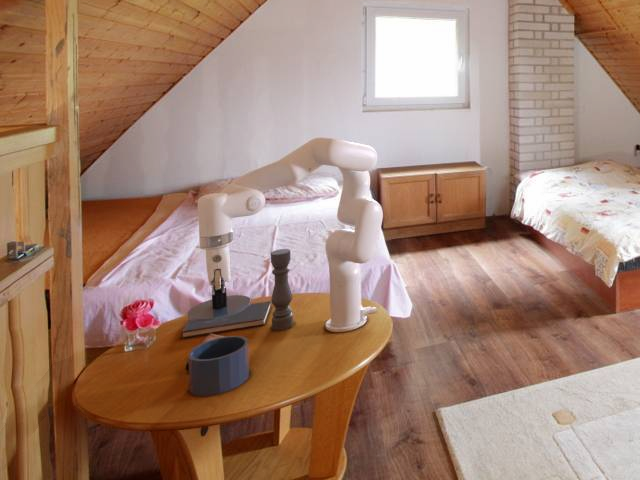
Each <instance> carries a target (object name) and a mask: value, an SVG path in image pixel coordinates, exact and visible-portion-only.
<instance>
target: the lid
mask: <svg viewBox="0 0 640 480" xmlns="http://www.w3.org/2000/svg"><path fill="white" fill-rule="evenodd" d="M250 304H252V298H251V297H249V296H247V295H240V294H234V295H233V294H232V295H227V306H226V307H224V308H219V309H215V310H213V307H212V298H211V299H208V300H205V301H203V302H200V303H197V304H196V305H194V306H193V307H191V308H190V309H189V310H188V311H187V313H186V317H187V319H188V320H189V319H190V320H194V321H209V320H216V319H221V318H225V317H228V316H231V315H234V314H236V313H239V312H241V311H243V310H244V309H246V308H247V307H248V306H249V305H250Z"/></svg>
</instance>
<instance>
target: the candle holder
mask: <svg viewBox="0 0 640 480" xmlns="http://www.w3.org/2000/svg"><path fill="white" fill-rule="evenodd" d="M290 262H291V249H289V248H279V249H275V250H273V251H271V252H270V264H271V266H272V267H273V269H272V271H271V274H272V275H273V276H274V285H273V289H272V295H271V299H270V301H271V305H273V306H274V310H273V312H272V317H271V329H272V330H273V331H276V332H277V331H285V330H288V329H290V328H292V327H293V326H294V314H293V313H292V312H293V309H292V307H291V306H290V304H291V302H292V300H293V294H292V290H291V287H290V284H289V272H290V271H291V268H290V267H289V264H290Z"/></svg>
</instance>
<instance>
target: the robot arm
mask: <svg viewBox="0 0 640 480" xmlns="http://www.w3.org/2000/svg"><path fill="white" fill-rule="evenodd" d="M378 159H379V158H378V153H377V151H376V149H374V147H372V146H370V145H366V144H362V143H356V142H351V141H347V140H344V139H338V138H332V137H315V138H312V139H311V140H308V141H307V142H305V143H304V144H303V145H301V146H299V147H297V148H296V149H295V150H293V151H292V152H290V153H288V154H287V155H284V157H282V158H280V159H278V160H276V161H274V162H271V163H269V164H267V165H264V166H262V167H259V168H257V169H254V170H252V171H249V172H247V173H245V174H243V175H241V176H240V177H239V178H237V179H235V180H234V181H232V182H231V183H228V184H227V185H226V186H224V187H223V189H221V191H220V192H215V193H209V194H205V195H203V196H200V197H199V199H198V200H197V217H198V219H197V220H198V238H199V249H200V250H204V251H205V262H206V263H205V264H206V265H205V266H206V274H207V279H208V285H209V286H211V288H212V289H211V290H212V293H211V299H212V307H213V310H215V309H219V308H224V307H226V306H227V296H228V295H227V287H226V283H230V282H231V280H232V279H231V277H232V276H231V275H232V273H231V254H230V252H231V251H230V245H232V244H233V243H234V235H233V218H241V217H249V216H254V215H256V214H258V213H259V212H261V211H262V210H263V209H264V207H265V205H266V197H265V194H263V193H265V192H266V191H269V190H273V189H278V188H282V187H288V186H292V185H294V184H297V183H299V182H300V181H301V180H303V179H304V178H306V177H307V176H308V175H310V174H312V173H313V172H314V171H316V170H318V169H319V168H321V167H322V166H329V167H336V168H338V170H339V171H340V174H341V176H342V179H343V181H342V188H341V189H342V190H341V193H340V198H339V203H338V207H337V214H336V218H337V220H338V221H339V223H341V224H343V225H346V226H349V227H354V230H352V229H349V228H340V229H335V230H334V231H333V232H331V233H330V234H329V235H328V236H327V239H326V241H325V254H326V259H327V263H328V272H329V308H330V309H329V311H330V318H329V319H328V320H327V321H326V322H325V329H326V330H327V331H329V332H331V333H345V332H350V331H353V330H355V329H358V328H361V327H362V326H364V325H365V324H366V323H367V321H368V315H373V314H377V313H378V309H377V307H376V306H375V307H372V305H370V306H367V307H366V306H365V307H364V306H363V304H362V270H361V265H362V264H366V263H368V262H369V261H370V260H372V258H373V257H374V256H375V253H376V251H377V249H378V243H379V239H380V235H381V229H382V224H383V218H384V212H383V207H382V205H381V203H379V202H378V201H376V200H374V199H372V198H369V196H370V190H371V189H370V188H371V175H370V172H369V171H370V170H372V169H374V167H376V165H377V163H378Z"/></svg>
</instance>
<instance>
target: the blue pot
mask: <svg viewBox="0 0 640 480" xmlns="http://www.w3.org/2000/svg"><path fill="white" fill-rule="evenodd" d="M201 343H202V342H201ZM201 343H200V344H198V345H196V346H195V347H193V348H192V349H191V350H190V351H189V352H188V357H187V358H188V361H187V362H188V364H189V372H188V385H189V386H188V388H189V393H191V394H192V395H194V396H197V397H209V396H210V397H211V396H215V395H220V394H223V393H227V392H230V391H232V390H234V389H236V388H238V387H239V386H241V385H242V384H244V383H245V382H246V381H247V380H248V378H249V376H250V357H249V339H248V338H247V337H245V336H241V335H228V336H227V335H226V336H225V337H221V338H216V339H213V340H209V341H207V342H205V343H202V344H201Z"/></svg>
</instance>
